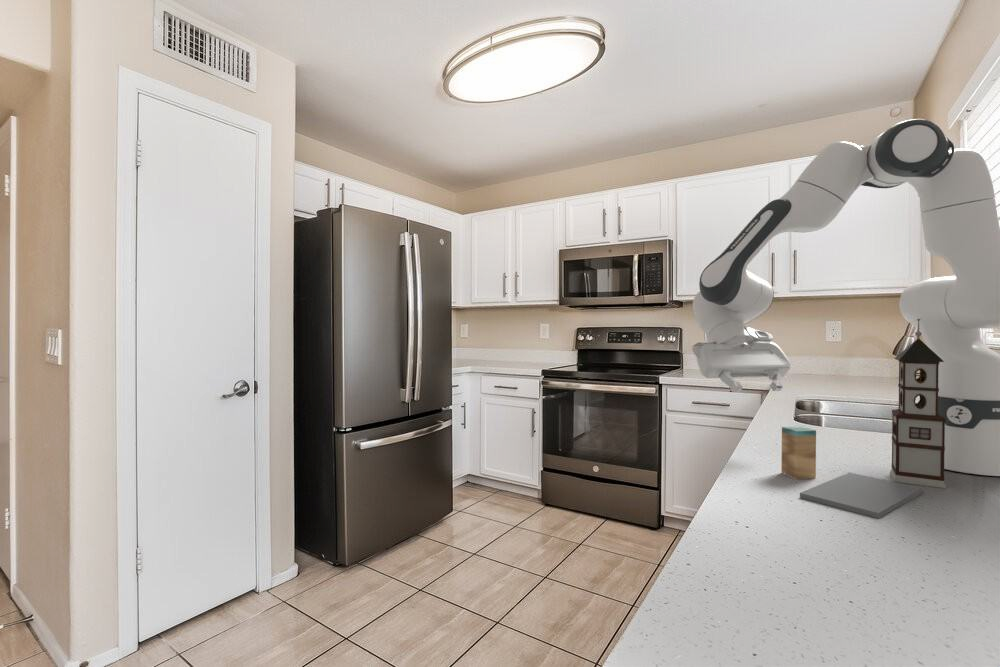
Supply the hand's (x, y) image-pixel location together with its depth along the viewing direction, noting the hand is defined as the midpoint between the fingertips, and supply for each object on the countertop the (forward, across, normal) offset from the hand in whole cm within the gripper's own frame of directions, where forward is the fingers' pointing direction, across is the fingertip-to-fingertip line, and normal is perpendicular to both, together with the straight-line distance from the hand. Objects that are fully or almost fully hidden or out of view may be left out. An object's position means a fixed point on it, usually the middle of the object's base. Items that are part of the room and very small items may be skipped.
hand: (758, 389), depth 107 cm
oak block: (+19, 0, +2) cm, 19 cm away
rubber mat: (+27, +3, -6) cm, 28 cm away
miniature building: (+23, +20, -2) cm, 30 cm away
